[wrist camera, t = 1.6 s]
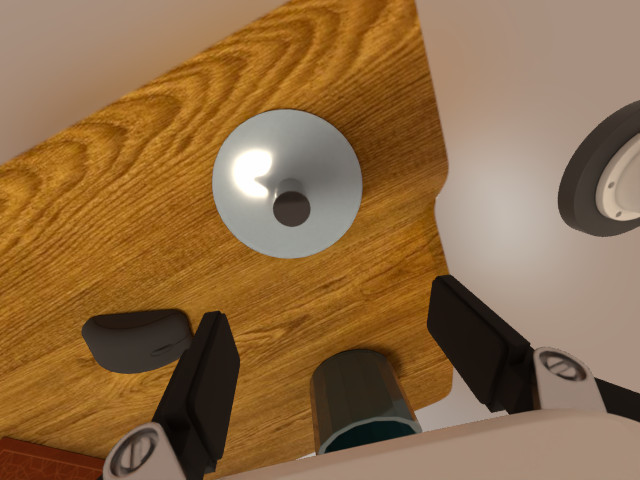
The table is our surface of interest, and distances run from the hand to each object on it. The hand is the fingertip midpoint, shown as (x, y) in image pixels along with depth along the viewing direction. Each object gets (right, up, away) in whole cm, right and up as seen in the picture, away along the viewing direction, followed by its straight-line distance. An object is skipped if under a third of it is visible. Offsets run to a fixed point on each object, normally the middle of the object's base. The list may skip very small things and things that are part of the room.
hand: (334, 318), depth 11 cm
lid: (-4, +8, +14) cm, 17 cm away
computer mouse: (-23, -8, +19) cm, 31 cm away
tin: (+5, -19, +28) cm, 34 cm away
